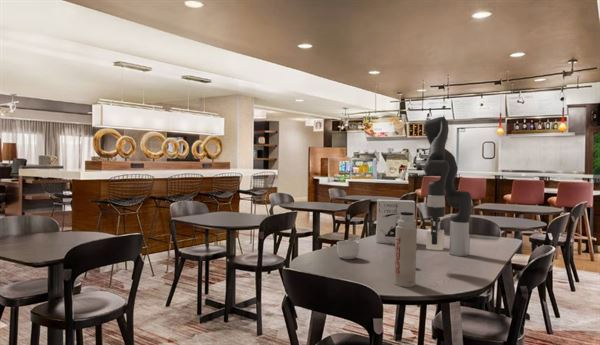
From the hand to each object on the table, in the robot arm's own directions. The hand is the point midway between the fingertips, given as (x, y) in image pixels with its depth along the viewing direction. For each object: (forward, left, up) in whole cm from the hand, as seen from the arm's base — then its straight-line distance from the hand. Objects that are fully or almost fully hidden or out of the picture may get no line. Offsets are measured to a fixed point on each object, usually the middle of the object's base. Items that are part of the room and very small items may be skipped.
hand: (435, 242), depth 200 cm
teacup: (+25, -35, -12) cm, 44 cm away
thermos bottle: (+27, +15, -12) cm, 33 cm away
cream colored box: (0, 0, -2) cm, 2 cm away
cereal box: (-22, -64, -12) cm, 69 cm away
